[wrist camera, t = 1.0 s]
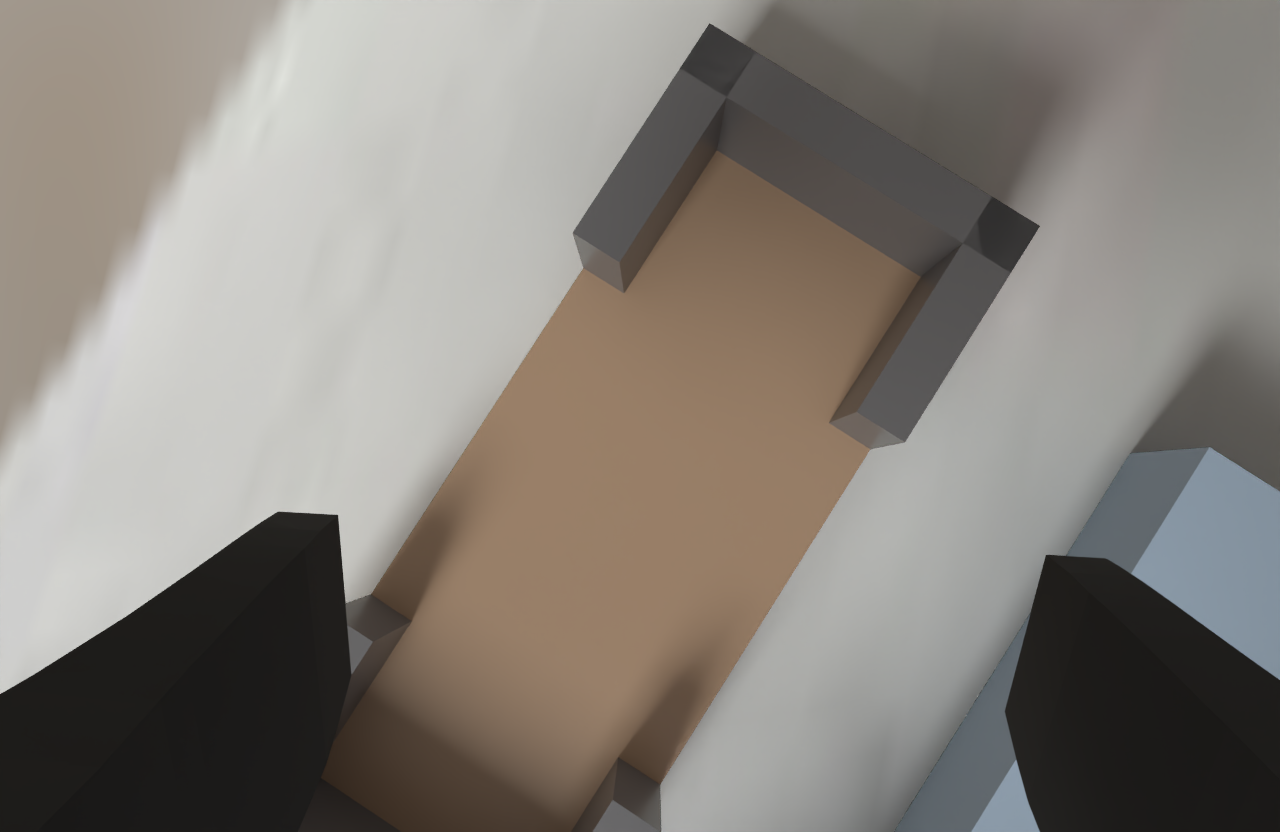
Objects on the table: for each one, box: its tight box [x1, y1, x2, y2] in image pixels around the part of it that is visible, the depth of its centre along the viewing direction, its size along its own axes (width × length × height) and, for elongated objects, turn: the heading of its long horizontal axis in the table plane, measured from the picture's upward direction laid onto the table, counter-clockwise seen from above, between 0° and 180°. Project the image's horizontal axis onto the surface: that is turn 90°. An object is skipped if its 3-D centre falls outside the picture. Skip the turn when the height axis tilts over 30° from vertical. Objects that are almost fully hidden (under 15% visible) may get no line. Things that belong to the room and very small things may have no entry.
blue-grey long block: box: [894, 447, 1280, 832], centre depth 21 cm, size 4×14×4 cm, turn 147°
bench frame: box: [298, 23, 1040, 832], centre depth 21 cm, size 7×17×4 cm, turn 147°
